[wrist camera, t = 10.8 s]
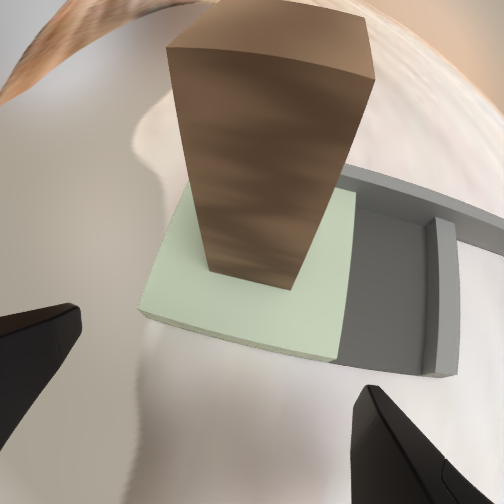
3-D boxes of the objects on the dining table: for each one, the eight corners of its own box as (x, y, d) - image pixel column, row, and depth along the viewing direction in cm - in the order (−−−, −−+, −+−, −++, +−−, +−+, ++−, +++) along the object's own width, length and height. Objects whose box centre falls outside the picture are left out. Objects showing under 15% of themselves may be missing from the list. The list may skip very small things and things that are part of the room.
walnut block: (209, 271, 19) (166, 47, 6) (231, 204, 21) (227, -5, 8) (290, 290, 18) (375, 79, 6) (304, 221, 20) (364, 17, 8)
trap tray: (146, 317, 19) (129, 301, 16) (206, 164, 25) (202, 134, 22) (525, 381, 17) (552, 374, 14) (518, 251, 23) (539, 235, 19)
